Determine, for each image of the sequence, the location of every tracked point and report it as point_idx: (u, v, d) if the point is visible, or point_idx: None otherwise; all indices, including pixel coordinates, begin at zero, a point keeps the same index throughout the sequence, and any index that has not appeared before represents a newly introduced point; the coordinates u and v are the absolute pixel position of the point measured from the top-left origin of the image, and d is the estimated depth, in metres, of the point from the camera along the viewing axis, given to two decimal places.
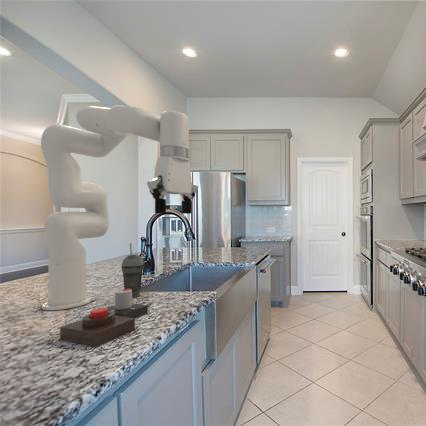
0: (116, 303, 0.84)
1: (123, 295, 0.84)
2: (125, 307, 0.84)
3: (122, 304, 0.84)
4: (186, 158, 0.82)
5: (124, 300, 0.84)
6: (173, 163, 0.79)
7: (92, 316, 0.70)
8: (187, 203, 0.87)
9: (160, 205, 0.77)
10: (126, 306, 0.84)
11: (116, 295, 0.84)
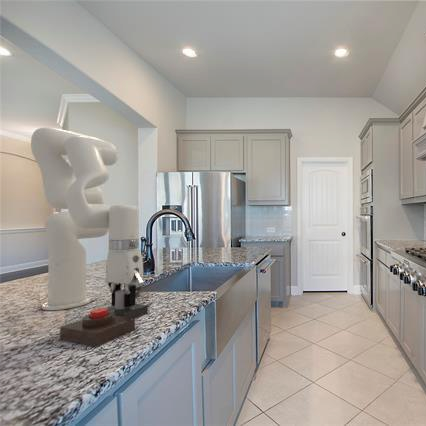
0: (116, 303, 0.84)
1: (123, 295, 0.84)
2: None
3: (122, 304, 0.84)
4: (113, 250, 0.82)
5: None
6: (109, 255, 0.84)
7: (92, 316, 0.70)
8: None
9: None
10: None
11: (116, 295, 0.84)
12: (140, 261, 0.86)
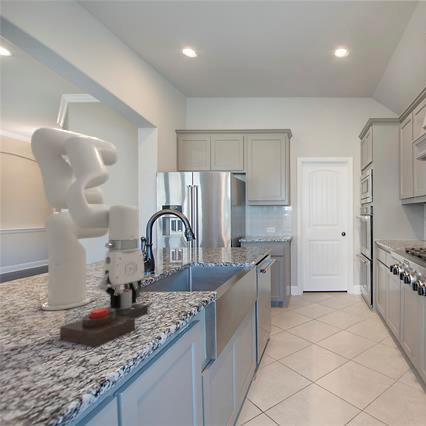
0: None
1: None
2: None
3: None
4: None
5: None
6: None
7: (92, 316, 0.70)
8: None
9: None
10: None
11: None
12: (111, 264, 0.81)
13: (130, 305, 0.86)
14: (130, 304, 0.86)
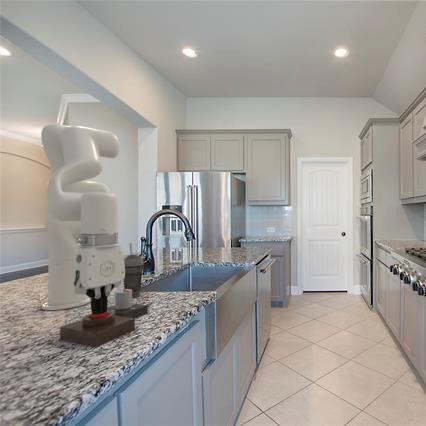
0: None
1: (115, 295, 0.85)
2: (115, 307, 0.84)
3: (115, 303, 0.85)
4: None
5: (115, 300, 0.84)
6: None
7: None
8: None
9: None
10: (115, 306, 0.84)
11: None
12: (82, 263, 0.67)
13: (130, 305, 0.86)
14: (130, 304, 0.86)
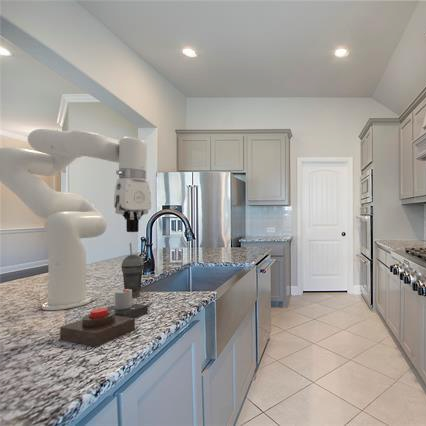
0: None
1: (115, 295, 0.85)
2: (115, 307, 0.84)
3: (115, 303, 0.85)
4: None
5: (115, 300, 0.84)
6: None
7: (92, 316, 0.70)
8: None
9: None
10: (115, 306, 0.84)
11: None
12: (121, 189, 0.88)
13: (130, 305, 0.86)
14: (130, 304, 0.86)
